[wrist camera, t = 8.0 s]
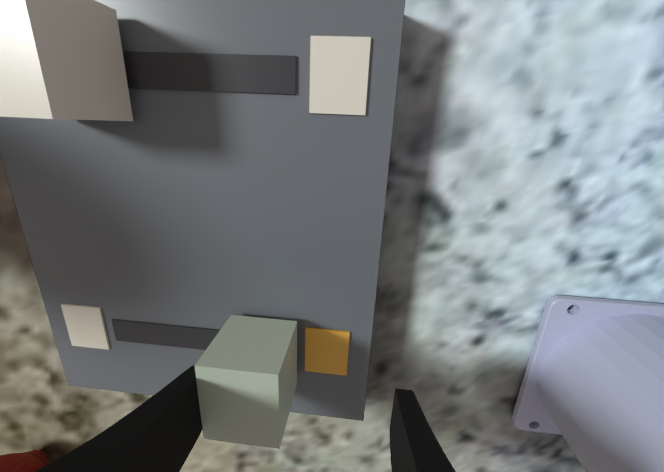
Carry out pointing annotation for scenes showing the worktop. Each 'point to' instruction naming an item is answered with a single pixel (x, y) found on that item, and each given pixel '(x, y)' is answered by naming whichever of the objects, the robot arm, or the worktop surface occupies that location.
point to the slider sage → (248, 381)
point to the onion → (24, 461)
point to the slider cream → (62, 61)
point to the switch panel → (219, 193)
